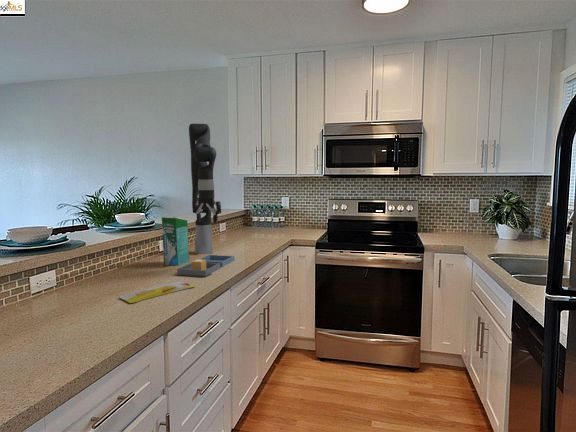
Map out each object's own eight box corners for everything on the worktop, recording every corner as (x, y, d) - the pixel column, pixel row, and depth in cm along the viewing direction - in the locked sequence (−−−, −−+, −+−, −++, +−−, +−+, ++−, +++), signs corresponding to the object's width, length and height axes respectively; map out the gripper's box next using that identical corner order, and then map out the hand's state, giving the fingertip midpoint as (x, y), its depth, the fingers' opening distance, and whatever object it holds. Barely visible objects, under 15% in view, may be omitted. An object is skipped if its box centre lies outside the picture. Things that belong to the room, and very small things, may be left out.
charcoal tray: (177, 275, 171) (177, 268, 171) (193, 267, 185) (193, 261, 185) (205, 277, 167) (205, 270, 167) (220, 269, 181) (220, 263, 181)
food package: (129, 300, 132) (118, 294, 139) (130, 306, 133) (118, 300, 139) (195, 283, 152) (182, 279, 159) (196, 288, 152) (182, 284, 159)
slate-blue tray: (196, 266, 188) (195, 260, 187) (209, 260, 202) (209, 254, 201) (222, 268, 184) (222, 262, 183) (234, 261, 198) (234, 256, 197)
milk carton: (189, 263, 196) (187, 216, 193) (177, 266, 187) (175, 217, 185) (175, 261, 199) (173, 215, 197) (163, 265, 191) (161, 217, 188)
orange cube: (191, 271, 175) (191, 261, 174) (197, 269, 180) (196, 258, 179) (201, 272, 173) (200, 261, 173) (206, 270, 178) (206, 259, 178)
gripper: (188, 189, 177) (190, 222, 179) (215, 189, 173) (216, 223, 175) (197, 188, 184) (198, 220, 186) (223, 188, 180) (223, 221, 182)
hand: (207, 222), depth 181 cm, fingers open, 8 cm apart
